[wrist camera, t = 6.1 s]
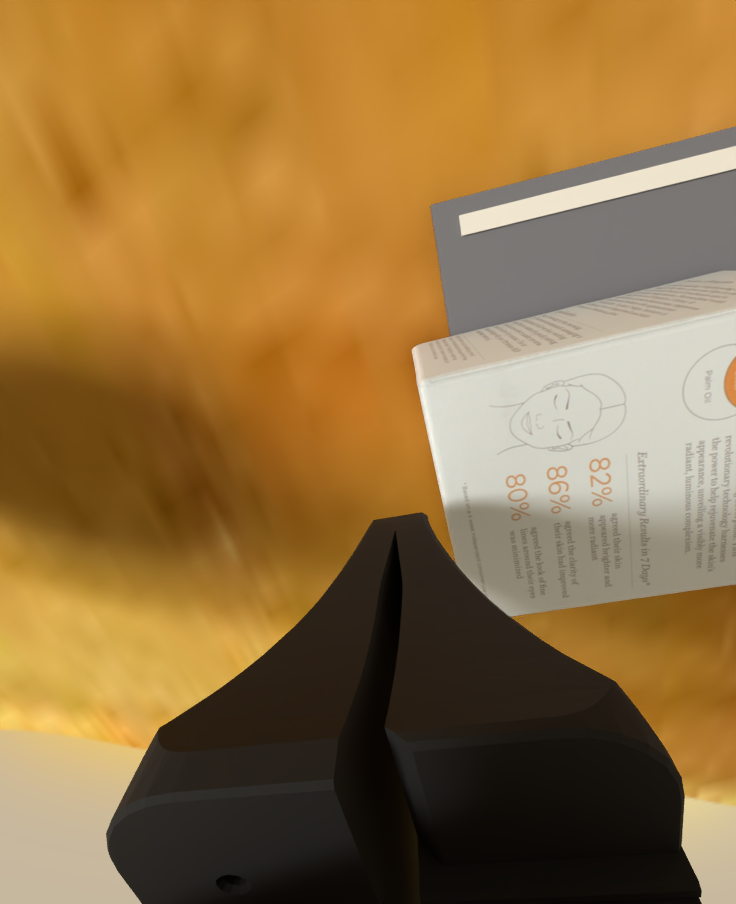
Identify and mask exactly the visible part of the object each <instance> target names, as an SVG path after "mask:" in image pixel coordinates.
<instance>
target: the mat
mask: <svg viewBox="0 0 736 904" xmlns="http://www.w3.org/2000/svg"><path fill="white" fill-rule="evenodd" d="M431 214H432V221H433V227H434V234H435V241H436V247H437V254H438V260H439V267H440V274H441V280H442V287H443V293H444V300H445V307H446V313H447V320H448V327H449V333H450V336H454V335H458V334H462V333H467V332H471V331H475V330H479V329H483V328H487V327H491V326H495V325H499V324H504V323H508V322H512V321H516V320H521V319H525V318H529V317H533V316H537V315H541V314H545V313H549V312H553V311H557V310H561V309H564V308H568V307H572V306H576V305H581V304H585V303H590V302H594V301H599V300H603V299H607V298H611V297H616V296H620V295H624V294H628V293H632V292H636V291H640V290H645V289H649V288H653V287H657V286H661V285H665V284H669V283H673V282H677V281H681V280H686V279H690V278H694V277H698V276H702V275H706V274H710V273H715V272H719V271H736V127H732V128H729V129H725V130H721V131H717V132H713V133H709V134H705V135H701V136H697V137H694V138H690V139H686V140H682V141H678V142H674V143H670V144H666V145H662V146H659V147H655V148H651V149H647V150H643V151H639V152H635V153H631V154H627V155H624V156H620V157H616V158H612V159H608V160H604V161H600V162H596V163H592V164H588V165H585V166H581V167H577V168H573V169H569V170H565V171H561V172H557V173H553V174H550V175H546V176H542V177H538V178H534V179H530V180H526V181H522V182H518V183H515V184H511V185H507V186H503V187H499V188H495V189H491V190H487V191H483V192H480V193H476V194H472V195H468V196H464V197H460V198H456V199H452V200H448V201H445V202H441V203H437V204H433V205H431Z"/></svg>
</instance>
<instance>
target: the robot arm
mask: <svg viewBox="0 0 736 904" xmlns="http://www.w3.org/2000/svg"><path fill="white" fill-rule="evenodd" d="M684 797H685V796H684V790H683V784H682V777H681V776H680V774H679V772H678V771H677V769H676V767H675V765H674V763H673V761H672V759H671V757H670V755H669V754H668V752H667V750H666V749H665V747H664V745H663V744H662V743H661V741H660V740H659V738H658V737H657V735H656V734H655V732H654V731H653V730H652V728H651V727H650V725H649V724H648V723H647V721H646V720H645V718H644V717H643V716H642V714H641V713H640V712H639V710H638V709H637V708H636V706H635V705H634V704H633V703H632V701H631V700H630V699H629V698H628V696H627V695H626V694H625V693H624V691H623V690H622V689H621V688H620V687H619V685H618V684H617V683H616V682H615V681H613V680H612V679H610V678H608V677H606V676H604V675H602V674H600V673H598V672H596V671H595V670H593V669H591V668H589V667H587V666H585V665H583V664H581V663H579V662H578V661H576V660H574V659H572V658H570V657H568V656H566V655H564V654H563V653H561V652H559V651H558V650H556V649H555V648H553V647H552V646H550V645H548V644H547V643H545V642H544V641H542V640H541V639H539V638H538V637H537V636H535V635H534V634H533V633H531V632H530V631H528V630H527V629H526V628H524V627H523V626H522V625H520V624H519V623H518V622H516V621H515V620H513V619H512V618H511V617H509V616H508V615H507V614H506V613H505V612H503V611H502V610H501V609H500V608H499V607H498V606H496V605H495V604H494V603H493V602H492V601H491V600H490V599H488V598H487V597H486V596H485V595H484V594H483V593H482V592H481V591H480V590H479V589H478V588H477V587H476V586H475V585H474V584H473V583H472V582H471V581H470V580H469V579H468V578H467V576H466V575H465V574H464V573H463V572H462V571H461V570H460V568H459V567H458V566H457V565H456V564H455V562H454V561H453V560H452V559H451V557H450V556H449V555H448V553H447V552H446V550H445V549H444V548H443V546H442V545H441V543H440V542H439V540H438V539H437V537H436V535H435V534H434V532H433V530H432V528H431V526H430V524H429V521H428V517H427V515H425V514H424V513H422V512H421V513H415V514H409V515H403V516H397V517H391V518H385V519H378V520H374V521H373V522H372V523H371V525H370V526H369V528H368V530H367V531H366V533H365V535H364V537H363V538H362V540H361V542H360V543H359V545H358V546H357V548H356V550H355V551H354V553H353V554H352V556H351V557H350V559H349V560H348V562H347V563H346V565H345V566H344V568H343V569H342V571H341V572H340V574H339V575H338V576H337V578H336V579H335V580H334V582H333V583H332V584H331V586H330V587H329V588H328V590H327V591H326V592H325V594H324V595H323V596H322V597H321V599H320V600H319V601H318V602H317V603H316V604H315V606H314V607H313V608H312V609H311V610H310V611H309V612H308V613H307V614H306V615H305V616H304V617H303V618H302V619H301V621H300V622H299V623H298V624H297V625H296V626H295V627H294V628H293V629H291V630H290V631H289V632H288V633H287V634H286V635H285V636H284V637H283V638H282V639H280V640H279V641H278V642H277V643H276V644H275V645H274V646H273V647H272V648H271V649H269V650H268V651H267V652H266V653H265V654H264V655H263V656H262V657H260V658H259V659H258V660H257V661H255V662H254V663H253V664H252V665H250V666H249V667H248V668H247V669H245V670H244V671H243V672H242V673H240V674H239V675H238V676H236V677H235V678H234V679H232V680H231V681H230V682H228V683H227V684H226V685H224V686H223V687H221V688H220V689H219V690H217V691H216V692H214V693H213V694H211V695H210V696H208V697H207V698H205V699H204V700H202V701H201V702H199V703H198V704H196V705H195V706H193V707H192V708H190V709H188V710H187V711H185V712H184V713H182V714H181V715H179V716H178V717H176V718H175V719H173V720H172V721H170V722H168V723H167V724H165V725H163V726H162V727H160V728H159V730H158V731H157V733H156V735H155V737H154V738H153V740H152V742H151V744H150V746H149V748H148V750H147V751H146V753H145V755H144V757H143V759H142V761H141V763H140V765H139V767H138V769H137V771H136V773H135V775H134V777H133V779H132V781H131V783H130V785H129V786H128V788H127V790H126V792H125V794H124V796H123V798H122V800H121V802H120V804H119V806H118V808H117V810H116V812H115V814H114V816H113V818H112V820H111V823H110V825H109V828H108V830H107V833H106V835H107V845H108V846H107V847H108V852H109V855H110V857H111V859H112V861H113V863H114V865H115V867H116V869H117V871H118V872H119V873H120V875H121V876H122V877H123V879H124V880H125V881H126V883H127V884H128V885H129V887H130V888H131V889H132V891H133V892H134V893H135V895H136V896H137V897H138V899H139V900H140V901H141V903H142V904H702V903H701V901H700V899H699V897H701V888H700V884H699V881H698V879H697V877H696V875H695V873H694V871H693V869H692V867H691V865H690V863H689V861H688V858H687V856H686V854H685V852H684V850H683V848H682V846H681V843H682V828H683V813H684Z"/></svg>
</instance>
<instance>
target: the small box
mask: <svg viewBox="0 0 736 904" xmlns="http://www.w3.org/2000/svg"><path fill="white" fill-rule="evenodd" d="M412 355H413V360H414V365H415V371H416V379H417V385H418V390H419V395H420V400H421V405H422V409H423V414H424V419H425V424H426V429H427V433H428V438H429V443H430V447H431V452H432V456H433V461H434V466H435V470H436V475H437V479H438V484H439V489H440V493H441V498H442V502H443V507H444V512H445V516H446V521H447V525H448V530H449V534H450V539H451V544H452V548H453V553H454V557H455V562H456V565H457V566H458V567H459V568H460V570H461V571H462V572H463V573H464V574H465V575H466V576H467V578H468V579H469V580H470V581H471V582H472V583H473V584H474V585H475V586H476V587H477V588H478V589H479V590H480V591H481V592H482V593H483V594H484V595H485V596H486V597H487V598H488V599H490V600H491V601H492V602H493V603H494V604H495V605H496V606H498V607H499V608H500V609H501V610H502V611H503V612H505V613H506V614H507V615H508V616H509V617H512V616H519V615H526V614H533V613H540V612H547V611H554V610H561V609H567V608H574V607H582V606H589V605H596V604H603V603H610V602H616V601H623V600H630V599H637V598H644V597H651V596H658V595H665V594H672V593H679V592H686V591H693V590H701V589H706V588H713V587H721V586H728V585H735V584H736V271H719V272H715V273H710V274H706V275H702V276H698V277H694V278H690V279H686V280H681V281H677V282H673V283H669V284H665V285H661V286H657V287H653V288H649V289H645V290H640V291H636V292H632V293H628V294H624V295H620V296H616V297H611V298H607V299H603V300H599V301H594V302H590V303H585V304H581V305H576V306H572V307H568V308H564V309H561V310H557V311H553V312H549V313H545V314H541V315H537V316H533V317H529V318H525V319H521V320H516V321H512V322H508V323H504V324H499V325H495V326H491V327H487V328H483V329H479V330H475V331H471V332H467V333H462V334H458V335H454V336H450V337H447V338H443V339H439V340H435V341H430V342H426V343H422V344H419V345H417V346H415V347H414V348H413V349H412Z"/></svg>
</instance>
